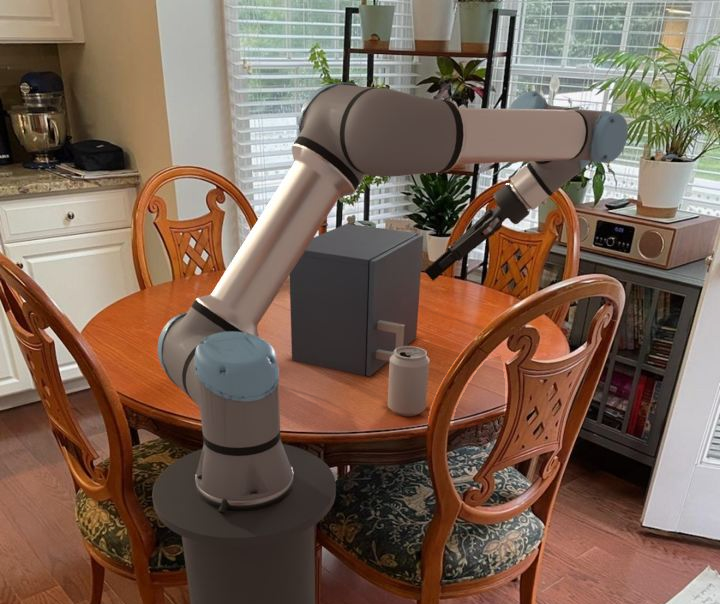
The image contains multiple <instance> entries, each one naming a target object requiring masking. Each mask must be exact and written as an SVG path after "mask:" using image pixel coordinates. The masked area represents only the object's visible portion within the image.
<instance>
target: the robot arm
mask: <svg viewBox="0 0 720 604" xmlns="http://www.w3.org/2000/svg"><path fill="white" fill-rule="evenodd" d="M297 126H298V131H297V134H298V136H297V138H296V139H295V140H294V142H293V144H292V146H291V152H292V153H291V154H292V157H293V159H292V160H293V163H292V165H291V166H290V169H288V171H287V173H286V175H285V176H284V178H283V179H282V181H281V182H280V184H279V186H278V188H277V189H276V191H275V192H274V193H273V195H272V197H271V199H270V200H269V202H268V203H267V205H266V206H265V208H264V209H263V211H262V212H261V214H260V216H259V217H258V218H257V221H256V222H255V224H254V225H253V226H252V228H251V230H250V231H249V233H248V235H247V237H246V238H245V240H244V241H243V243H242V244H241V246H240V247H239V249H238V251H237V252H236V254H235V255H234V257H233V259H232V260H231V262H230V263H229V265H228V266H227V268H226V269H225V271H224V273H223V275H222V276H221V277H220V279H219V281H218V282H217V284H216V286H215V287H214V289H213V290H212V292H211V293H210V294H207V295H204V296H203V295H202V296H199V297H196V298H195V300H194V301H193V303H192V304H191V306H190V308H189V310H187V312H183V313H180V314H177V315H175V316H174V317H172V318H171V319H170V320H168V321H167V323H166V324H165V325H164V327H163V328H162V330H161V332H160V334H159V337H158V341H157V357H158V359H159V360H158V361H159V364H160V366H161V368H162V369H163V371H164V372H165V374H166V376H167V378H168V379H169V380H170V381H171V382H172V384H174V385H175V386H176V387H178V388H180V390H181V391H182V392H183V393H184V394H185V395H186V396H188V398H190V400H191V401H193V402H194V404H196V405H197V407H198V408H199V412H200V420H201V421H200V422H201V431H202V439H203V440H202V441H203V446H202V449H203V450H202V454H201V457H200V461H199V465H198V469H197V473H196V477H195V480H196V489H197V493H198V495H199V497H200V498H201V499H202V500H203V501H204V502H206V503H207V504H209V505H211V506H214V507H216V508H219V511H218V512H219V513H221V514H225V511H226V510H230V511H251V510H257V509H262V508H266V507H269V506H272V505H274V504H276V503H278V502H280V501H282V500H283V499H284V498H286V497H287V496H288V495H289V494H290V492H291V491H292V489H293V485H294V476H293V469H292V467H291V465H290V463H289V461H288V458H287V455H286V452H285V450H284V447H283V445H282V444H283V441H282V440H281V413H280V368H279V365H278V358H277V353H276V351H275V349H274V348H273V346H272V345H271V344H270V343H269V342H268V341H267V340H265V339H264V338H262V337H260V336H259V331H258V325H259V323H260V322H261V320H262V319H263V317H264V315H265V314H266V312H267V311H268V309H269V308H270V307H271V304H272V303H273V302H274V300H275V298H276V297H277V295H278V294H279V292H280V291H281V289H282V288H283V286H284V284H285V283H286V281H287V280H288V279H289V278H290V273H291V272H292V270H293V269H294V267H295V266H296V264H297V263H298V261H299V259H300V258H301V256H302V255H303V253H304V252H305V250H306V249H307V247H308V245H309V244H310V242H311V241H312V239H313V238H314V237H316V236H317V233H318V232H319V228H320V227H321V225H322V224H323V222H324V221H325V219H326V217H327V218H328V217H329V214H330V213H331V211H332V210H333V208H334V206H336V203H337V202H338V200H339V199H340V198H342V197H347V196H352V195H354V194H355V192H357V189H358V188H359V187H360V185H361V184H362V182H363V180H364V179H365V177H366V175H368V176H372V177H379V178H390V177H392V178H393V177H404V176H411V175H413V176H414V175H423V174H424V175H425V174H434V173H447V172H449V171H451V170H452V169H454V167H456V166H457V165H473V164H474V165H476V164H501V163H527V164H525V165H524V166H523V167H522V168H521V169H520V170H519V171H517V172H516V173H514V175H513V176H512V177H511V178H510V183H509V182H508V183H504V184H503V185H502V186H501V187H500V188H499V189H498V190H496V192H494V193H493V200H494V201H495V204H496V205H497V206H495V207H494V208H493V209H492V208H489V209H487V210H486V211H485V212H484V213H483V215H482V216H481V217H480V218H479V219H477V220H476V221H475V223H474V224H472V226H470V228H469V229H467V230H466V231H465V232H464V233H463V234H462V235H461V236H459V238H458V239H457V240H455V241H454V242H453V243H452V245H451V246H448V247H447V248H446V250H445V252H444V253H442V254H441V255H440V256H439V257H438V258H436V259H435V261H433V262H432V263H431V264H430V265H428V267H426V268H425V269H424V272H425V274H426V275H427V276H428V278H430V279H431V281H432V282H434V281H435V280H436V279H437V278H439V277H440V276H441V275H443V273H444V272H445V271H447V270H448V269H449V268H450V267H451V266H452V265H454V264H455V263H456V262H457V261H458V262H459V261H462V260H463V258H464V257H466V256H467V255H468V254H469V253H471V252H472V251H473V250H475V249H476V248H477V247H478V246H481V244H482V243H484V242H485V241H486V240H487V239H489V238H490V237H492V236H494V235H495V233H497V232H498V231H499V230H501V229H502V227H503V223H504V222H505V221H506V220H507V219H508V220H509V221H510V222H511V223H512V224H513V225H518V224H519V223H520V222H522V221H523V220H524V219H526V217H528V216H529V215H530V213H531V210H532V211H534V210H536V209H537V208H538V207H540V205H541V204H542V205H543V206H544V205H546V204H547V203H548V200H547V199H549V197H551V196H553V195H554V194H555V193H556V192H557V191H558V190H560V189H561V188H562V187H563V186H565V185H566V184H567V183H568V182H569V181H570V180H572V179H573V178H574V177H575V176H577V175H578V174H580V173H581V172H582V171H583V170H584V169H585V168H586V167H587V166H588V165H589V164H590V163H591V162H592V163H594V164H597V163H603V164H608V163H611V162H614V161H615V160H616V159H617V158H618V157H619V156H620V155H621V154H622V152H623V151H624V150H625V146H626V144H627V140H628V136H629V126H628V122H627V120H626V118H625V117H624V116H623V115H622V114H620V113H616V112H611V111H610V110H597V109H596V110H594V109H587V108H586V109H585V108H576V107H568V106H560V105H551V104H549V103H548V102H547V99H546V98H545V97H543V96H542V95H541V94H540V93H539V92H538V91H536V90H530V91H526V92H523V93H521V94H520V95H518V96H517V97H516V98H515V99H514V100H513V101H512V102H511V104H510V106H509V107H508V108H485V107H484V108H481V107H480V108H479V107H459V106H458V105H457V104H456V103H455V102H454V101H452V100H449V99H438V98H437V99H436V98H429V97H424V96H419V95H415V94H411V93H407V92H403V91H399V90H395V89H391V88H385V87H372V86H362V85H358V84H356V83H350V82H337V83H331V84H327V85H324V86H321V87H319V88H318V89H316V90H315V91H313V92H311V94H310V95H309V97H308V98H307V99H306V100H305V102H304V103H303V104H302V107H301V109H300V112H299V115H298V120H297Z"/></svg>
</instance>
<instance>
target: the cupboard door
mask: <svg viewBox="0 0 720 604" xmlns="http://www.w3.org/2000/svg"><path fill="white" fill-rule="evenodd" d="M423 247H424V234H422V233H418V235H417V236H415V237H413V238H411V239H409V240H408V241H406V242H404V243H402V244H400V245H398V246H397V247H395V248H393V249H391V250H389V251H387V252H385V253H384V254H382V255H380V256H378V257H376V258H374V259H372V260H371V261H370V271H369V303H368V335H367V367H366V375H365V376H368V377H372V376H373V375H374V374H375V373H376V372H377V371H378V370H380V369H381V368H382V367H383V366H384V365H386V364H387V363H389V362H390V357H391V356H392V355H393V354H394V353H393V352H394V350H395V349H396V348H398V347H402V346H409V344H411V343H412V342H413V341H414V340H416V339H417V333H418V319H419V306H420V290H421V277H422V276H421V275H422V262H423Z"/></svg>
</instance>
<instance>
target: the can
mask: <svg viewBox="0 0 720 604" xmlns="http://www.w3.org/2000/svg"><path fill="white" fill-rule="evenodd" d="M393 353H394V354H393V355H392V356H391V357H390V361H389V366H388V367H389V368H388V389H387V407H388V408H389V409H390V410H391V412H393V413H394V414H396V415H398V416H403V417H413V416H418V415H419V414H421V413H423V411H425V410H426V408H427V401H428V399H427V397H428V389H429V388H428V385H429V374H430V361H431V360H430V358H429V357H428V356H427V355H428V353H427V350H426V349H424V348H422V347H419V346H413V345H407V346H402V347H398V348H396V349H395V350H394V352H393Z"/></svg>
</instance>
